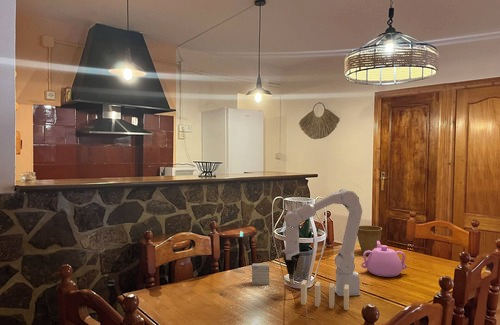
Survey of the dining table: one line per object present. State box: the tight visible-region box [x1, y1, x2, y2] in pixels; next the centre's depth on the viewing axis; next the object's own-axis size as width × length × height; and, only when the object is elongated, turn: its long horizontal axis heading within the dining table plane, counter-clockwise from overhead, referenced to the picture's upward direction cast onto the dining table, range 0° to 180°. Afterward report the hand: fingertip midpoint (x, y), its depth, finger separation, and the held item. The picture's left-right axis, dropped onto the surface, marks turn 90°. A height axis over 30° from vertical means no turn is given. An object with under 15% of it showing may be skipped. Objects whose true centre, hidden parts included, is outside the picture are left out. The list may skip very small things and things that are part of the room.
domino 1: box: [288, 257, 296, 280], centre depth 153 cm, size 2×5×8 cm, turn 161°
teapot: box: [361, 240, 408, 278], centre depth 182 cm, size 22×22×14 cm
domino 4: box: [328, 282, 336, 309], centre depth 141 cm, size 2×5×8 cm, turn 162°
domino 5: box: [343, 285, 350, 311], centre depth 139 cm, size 2×5×8 cm, turn 162°
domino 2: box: [300, 279, 308, 306], centre depth 144 cm, size 2×5×8 cm, turn 161°
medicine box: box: [251, 262, 270, 286], centre depth 166 cm, size 8×4×9 cm, turn 92°
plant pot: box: [357, 225, 383, 257], centre depth 216 cm, size 15×15×16 cm
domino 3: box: [314, 281, 322, 307], centre depth 142 cm, size 2×5×8 cm, turn 162°
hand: (292, 272), depth 153 cm, fingers closed on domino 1, 5 cm apart
